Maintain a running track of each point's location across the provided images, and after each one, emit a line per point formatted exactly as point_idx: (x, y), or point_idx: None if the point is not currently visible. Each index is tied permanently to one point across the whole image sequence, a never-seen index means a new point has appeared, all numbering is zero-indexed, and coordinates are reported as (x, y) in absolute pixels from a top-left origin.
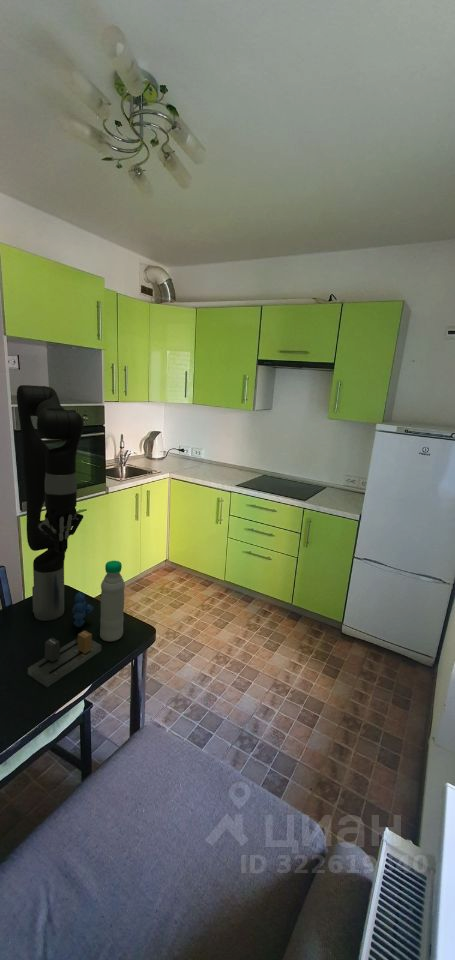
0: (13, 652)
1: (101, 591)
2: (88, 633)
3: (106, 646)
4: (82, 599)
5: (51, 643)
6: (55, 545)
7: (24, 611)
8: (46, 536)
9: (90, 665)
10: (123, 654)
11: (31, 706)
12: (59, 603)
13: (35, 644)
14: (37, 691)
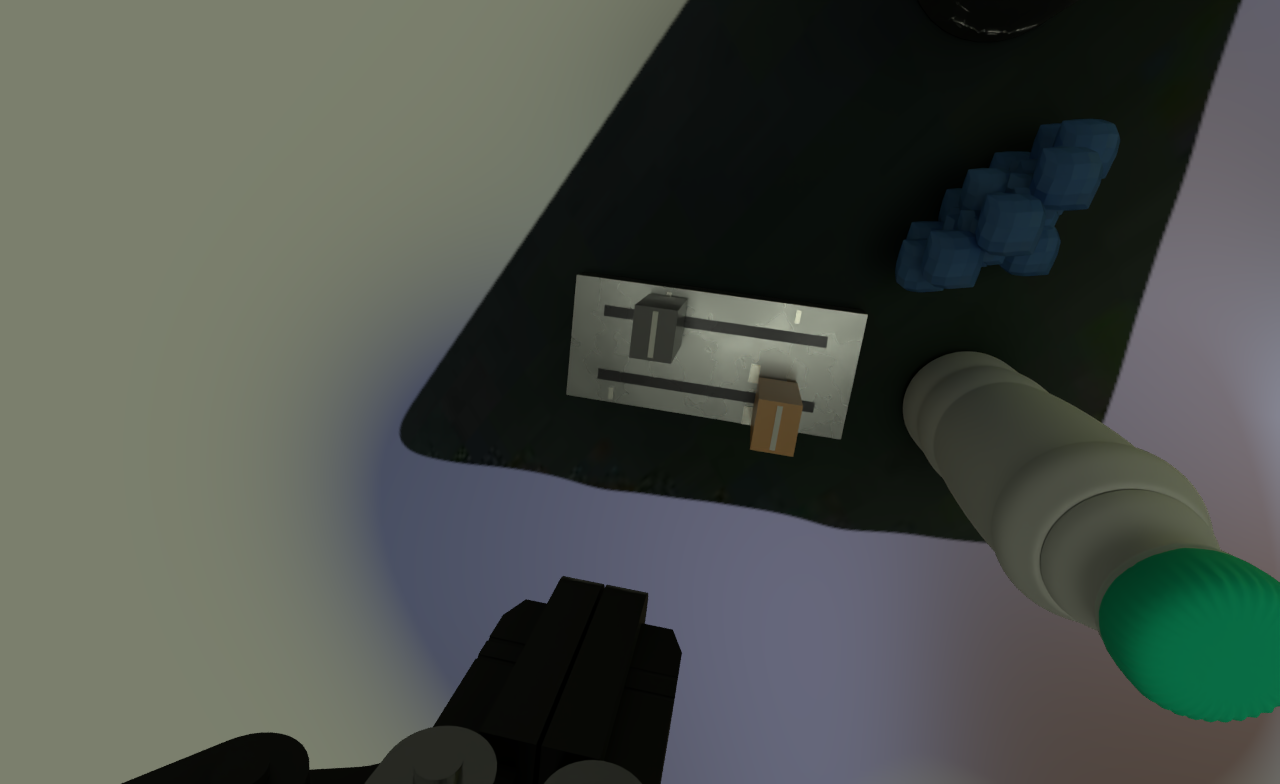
0: (646, 96)
1: (1020, 455)
2: (789, 439)
3: (874, 430)
4: (1005, 255)
5: (642, 340)
6: (473, 675)
7: None
8: (157, 771)
9: (741, 446)
10: (860, 521)
11: (493, 403)
12: (1022, 16)
13: (736, 135)
14: (546, 371)
